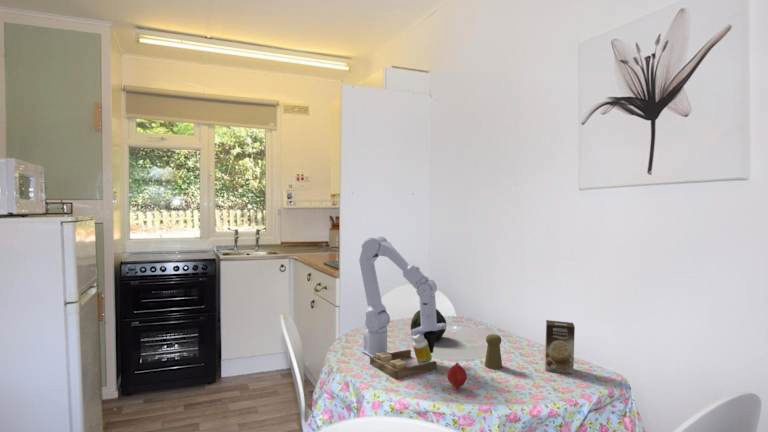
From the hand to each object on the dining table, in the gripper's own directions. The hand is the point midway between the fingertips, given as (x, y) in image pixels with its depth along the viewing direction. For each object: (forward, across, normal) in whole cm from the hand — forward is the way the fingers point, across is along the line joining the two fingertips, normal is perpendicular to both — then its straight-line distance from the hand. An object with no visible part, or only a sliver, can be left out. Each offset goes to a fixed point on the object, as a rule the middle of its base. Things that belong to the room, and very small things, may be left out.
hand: (430, 352), depth 159 cm
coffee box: (+6, +33, -29) cm, 44 cm away
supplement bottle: (+3, -2, +1) cm, 3 cm away
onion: (+4, -8, -23) cm, 24 cm away
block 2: (+3, -16, -3) cm, 17 cm away
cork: (+5, +16, -15) cm, 22 cm away
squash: (+3, +17, +23) cm, 29 cm away
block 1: (+3, -16, +6) cm, 17 cm away
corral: (+3, -11, +1) cm, 11 cm away
